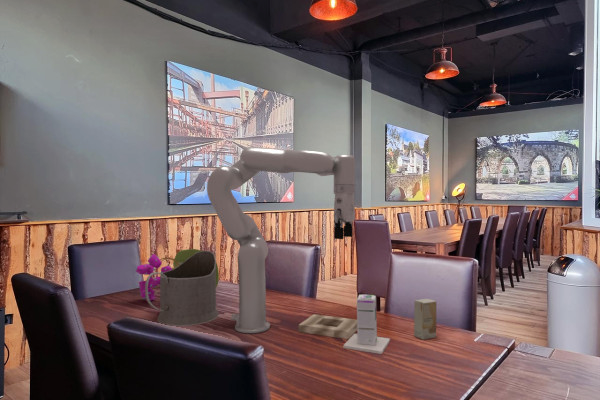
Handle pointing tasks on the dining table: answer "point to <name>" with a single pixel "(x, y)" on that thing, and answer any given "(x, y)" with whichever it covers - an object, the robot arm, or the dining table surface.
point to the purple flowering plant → (163, 270)
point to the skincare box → (425, 319)
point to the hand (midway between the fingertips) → (343, 237)
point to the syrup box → (366, 320)
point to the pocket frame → (318, 327)
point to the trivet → (377, 348)
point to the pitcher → (188, 292)
